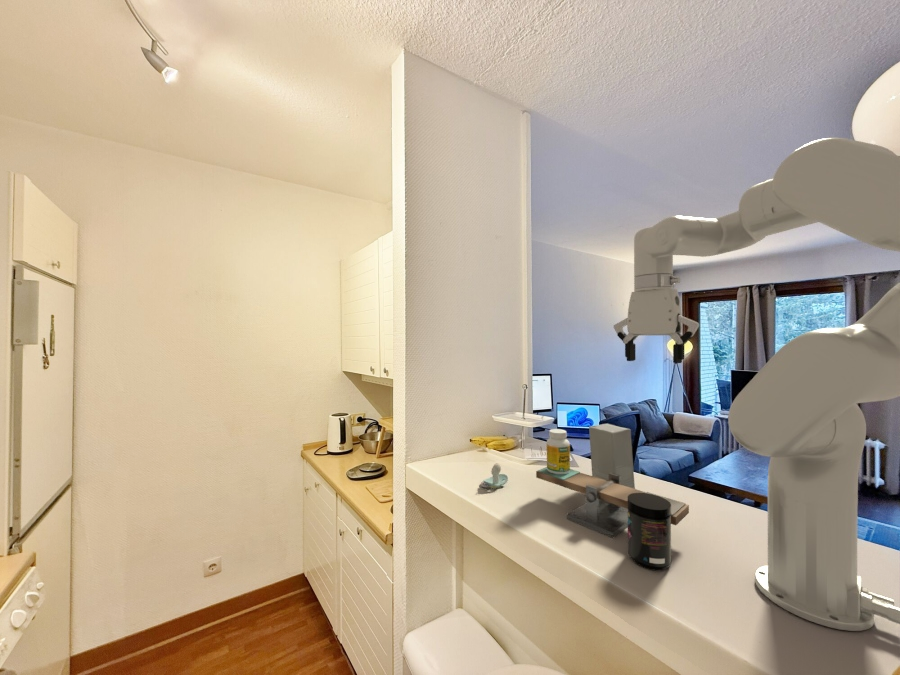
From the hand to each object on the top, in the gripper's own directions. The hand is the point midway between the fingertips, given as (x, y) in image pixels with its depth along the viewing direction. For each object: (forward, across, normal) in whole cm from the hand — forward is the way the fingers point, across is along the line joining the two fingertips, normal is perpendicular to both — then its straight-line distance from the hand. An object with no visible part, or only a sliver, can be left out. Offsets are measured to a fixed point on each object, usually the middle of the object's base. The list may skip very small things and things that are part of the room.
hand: (653, 361), depth 82 cm
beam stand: (+33, +6, +11) cm, 36 cm away
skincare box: (+34, +12, -5) cm, 36 cm away
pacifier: (+34, +34, +16) cm, 50 cm away
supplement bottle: (+27, +17, +11) cm, 34 cm away
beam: (+28, +6, +11) cm, 31 cm away
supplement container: (+34, -6, +20) cm, 39 cm away
